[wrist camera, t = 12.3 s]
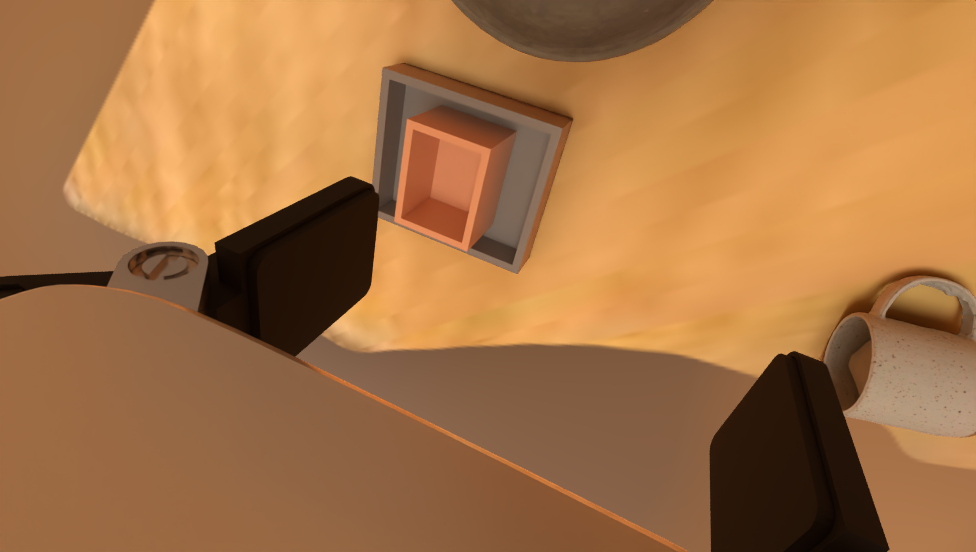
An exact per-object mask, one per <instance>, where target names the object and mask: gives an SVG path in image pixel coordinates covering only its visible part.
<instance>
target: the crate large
mask: <svg viewBox="0 0 976 552" xmlns="http://www.w3.org/2000/svg"><path fill="white" fill-rule="evenodd" d="M441 105H443V106H446V107H449V108H452V109H454V110H457V111H460V112H463V113H466V114H469V115H472V116H474V117H477V118H480V119H483V120H486V121H489V122H492V123H494V124H497V125H500V126H503V127H506V128H509V129H512V130H514V131H517V133H516V137H515V140H514V144H513V148H512V152H511V156H510V160H509V163H508V167H507V171H506V175H505V179H504V183H503V187H502V190H501V194H500V198H499V202H498V206H497V210H496V213H495V217H494V221H493V225H492V226H491V227H490V228H489V229H488V230H487V231H486V232H485V233H484V234H483V235H482V236H481V237H480V239H479V240H478V241H477V242H476V243H475V244H474V245H473V246H472V247H471V248H470V249H469V250H468V251H467V252H466V251H464V250H462V249H459V248H457V247H454V246H452V245H449V244H447V243H445V242H442V241H440V240H437V239H435V238H432V237H430V236H427V235H425V234H423V233H420V232H418V231H415V230H413V229H410V228H408V227H406V226H403V225H401V224H398V223H396V222H394V219H395V211H396V203H397V195H398V187H399V179H400V171H401V163H402V155H403V147H404V139H405V132H406V124H407V119H408V118H411V117H413V116H416V115H418V114H421V113H423V112H426V111H428V110H431V109H434V108H436V107H439V106H441ZM572 121H573V119H572V118H569V117H565V116H562V115H559V114H556V113H553V112H550V111H547V110H544V109H541V108H538V107H535V106H532V105H529V104H526V103H523V102H520V101H517V100H514V99H511V98H508V97H505V96H502V95H499V94H496V93H493V92H490V91H487V90H484V89H481V88H478V87H475V86H472V85H469V84H466V83H463V82H460V81H457V80H454V79H451V78H448V77H445V76H442V75H439V74H436V73H433V72H430V71H427V70H424V69H421V68H418V67H415V66H412V65H409V64H406V63H402V64H397V65H393V66H388V67H383V69H382V81H381V92H380V103H379V114H378V126H377V137H376V148H375V159H374V171H373V182H372V185H373V186H374V188H375V192H376V193H378V194H379V211H378V218H381V219H383V220H386V221H388V222H391V223H393V224H396V225H398V226H400V227H403V228H405V229H408V230H410V231H413V232H415V233H418V234H420V235H423V236H425V237H427V238H430V239H432V240H435V241H437V242H440V243H442V244H445V245H447V246H449V247H452V248H454V249H457V250H459V251H462V252H464V253H467V254H469V255H472V256H474V257H476V258H479V259H481V260H484V261H486V262H489V263H491V264H494V265H496V266H498V267H501V268H503V269H506V270H508V271H511V272H513V273H516V274H518V273H519V271H520V270H521V268H522V267H523V266H524V264H525V263H526V261H527V260H528V258H529V256H530V253H531V250H532V247H533V243H534V240H535V237H536V234H537V231H538V228H539V225H540V221H541V218H542V215H543V212H544V209H545V206H546V203H547V199H548V196H549V193H550V190H551V187H552V184H553V181H554V177H555V174H556V171H557V168H558V165H559V162H560V159H561V156H562V152H563V149H564V146H565V143H566V140H567V137H568V134H569V130H570V127H571V124H572Z"/></svg>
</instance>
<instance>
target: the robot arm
mask: <svg viewBox="0 0 976 552" xmlns="http://www.w3.org/2000/svg"><path fill="white" fill-rule="evenodd" d="M378 211H379V194H378V193H376V192H375V188H374V186H373V185H372V184H370V183H367V182H365V181H362V180H359V179H357V178H354V177H351V176H350V177H347V178H345V179H343V180H341V181H339V182H336V183H334V184H332V185H330V186H328V187H326V188H324V189H322V190H320V191H318V192H316V193H314V194H312V195H310V196H308V197H306V198H304V199H302V200H300V201H298V202H296V203H294V204H292V205H290V206H288V207H286V208H284V209H282V210H280V211H278V212H276V213H274V214H272V215H270V216H268V217H266V218H264V219H262V220H259V221H257V222H255V223H253V224H251V225H249V226H247V227H245V228H243V229H241V230H239V231H237V232H235V233H233V234H231V235H229V236H227V237H225V238H223V239H221V240H219V241H217V242H215V250H216V252H215V253H213V254H211V255H209V256H207V254H206V253H205V252H204V251H203V250H202V249H200V248H198V247H197V246H195V245H191V244H187V243H182V242H157V243H152V244H147V245H144V246H141V247H138V248H136V249H133V250H131V251H130V252H128V253H127V254H125V255H124V256H123V257H122V258H121V259H120V261H119V262H118V264H117V266H116V268H115V270H114V271H108V272H87V273H65V274H43V275H22V276H5V277H0V552H689V551H687V550H685V549H683V548H681V547H679V546H677V545H675V544H674V543H672V542H670V541H668V540H666V539H664V538H662V537H660V536H658V535H656V534H654V533H652V532H650V531H648V530H646V529H644V528H642V527H639V526H638V525H636V524H634V523H632V522H630V521H628V520H626V519H624V518H622V517H620V516H618V515H616V514H614V513H612V512H610V511H607V510H606V509H604V508H602V507H600V506H598V505H596V504H594V503H592V502H590V501H588V500H585V499H584V498H582V497H580V496H578V495H576V494H574V493H572V492H570V491H568V490H565V489H564V488H561V487H560V486H558V485H556V484H553V483H552V482H550V481H547V480H545V479H543V478H542V477H540V476H538V475H536V474H533V473H532V472H530V471H527V470H525V469H523V468H521V467H519V466H517V465H515V464H513V463H511V462H509V461H507V460H505V459H503V458H501V457H499V456H497V455H495V454H493V453H491V452H489V451H486V450H485V449H483V448H481V447H479V446H477V445H475V444H473V443H470V442H469V441H467V440H464V439H463V438H461V437H458V436H456V435H454V434H452V433H450V432H448V431H446V430H444V429H442V428H440V427H438V426H436V425H434V424H432V423H430V422H428V421H426V420H424V419H422V418H420V417H418V416H416V415H414V414H412V413H410V412H408V411H406V410H403V409H401V408H399V407H397V406H395V405H393V404H391V403H389V402H387V401H385V400H383V399H381V398H379V397H377V396H375V395H373V394H371V393H368V392H367V391H364V390H362V389H360V388H358V387H356V386H354V385H352V384H350V383H348V382H346V381H344V380H342V379H340V378H338V377H335V376H333V375H331V374H329V373H327V372H325V371H323V370H321V369H319V368H317V367H315V366H313V365H311V364H309V363H307V362H305V361H302V360H301V359H298V358H296V357H295V356H296V355H297V354H299V353H300V352H301V351H302V350H303V349H304V348H306V347H307V346H308V345H309V344H310V343H311V342H313V341H314V340H315V339H316V338H317V337H318V336H319V335H321V334H322V333H323V332H324V331H325V330H326V329H327V328H329V327H330V326H331V325H332V324H333V323H334V322H335V321H337V320H338V319H339V318H340V317H341V316H342V315H344V314H345V313H346V312H347V311H348V310H349V309H350V308H352V307H353V306H354V305H355V304H356V303H357V302H358V301H360V300H361V299H362V298H363V297H364V296H365V295H366V294H367V292H368V291H369V289H370V286H371V281H372V271H373V261H374V251H375V241H376V231H377V221H378ZM710 511H711V552H887V551H888V550H889V546H888V543H887V541H886V537H885V534H884V532H883V529H882V526H881V523H880V520H879V517H878V514H877V511H876V508H875V505H874V502H873V499H872V496H871V493H870V490H869V488H868V485H867V482H866V479H865V476H864V473H863V470H862V467H861V464H860V461H859V458H858V455H857V452H856V449H855V446H854V443H853V440H852V437H851V434H850V432H849V429H848V426H847V423H846V420H845V417H844V414H843V411H842V408H841V405H840V402H839V399H838V396H837V393H836V390H835V387H834V384H833V382H832V379H831V376H830V373H829V370H828V367H827V365H826V364H825V363H823V362H821V361H819V360H816V359H813V358H811V357H808V356H806V355H803V354H801V353H798V352H796V351H793V352H790V353H789V354H788V355H784V354H778V355H777V356H776V357H775V358H774V359H773V360H772V362H771V363H770V364H769V365H768V367H767V368H766V369H765V371H764V372H763V373H762V375H761V376H760V377H759V378H758V380H757V381H756V382H755V384H754V385H753V386H752V387H751V389H750V390H749V391H748V393H747V394H746V395H745V397H744V398H743V399H742V401H741V402H740V403H739V404H738V406H737V407H736V408H735V409H734V411H733V412H732V413H731V415H730V416H729V417H728V418H727V420H726V421H725V422H724V424H723V425H722V426H721V428H720V429H719V430H718V432H717V433H716V434H715V436H714V438H713V440H712V442H711V446H710Z"/></svg>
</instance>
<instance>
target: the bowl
mask: <svg viewBox="0 0 976 552" xmlns="http://www.w3.org/2000/svg"><path fill="white" fill-rule="evenodd" d="M452 1H453V2H454V4H455V5H456V6H457V7H458V8H459V9H460V10H461V11H462V12H463V13H464V14H465V15H466V16H467V17H468V18H469V19H470V20H472V21H473V22H474V23H475V24H476V25H477V26H479V27H480V28H481V29H482V30H484V31H485V32H487V33H488V34H489V35H491V36H492V37H494V38H495V39H497V40H498V41H500V42H502V43H504V44H506V45H508V46H509V47H511V48H513V49H516V50H518V51H520V52H523V53H526V54H529V55H532V56H535V57H538V58H543V59H549V60H554V61H565V62H592V61H600V60H605V59H609V58H614V57H618V56H622V55H626V54H628V53H631V52H634V51H636V50H639V49H641V48H644V47H646V46H649V45H651V44H653V43H655V42H657V41H659V40H661V39H663V38H665V37H666V36H668V35H669V34H671V33H672V32H674V31H675V30H677V29H678V28H680V27H681V26H683V25H684V24H685V23H687V22H688V21H690V20H691V19H692V18H693V17H695V16H696V15H697V14H699V13H700V12H701V11H702V10H703V9H705V8H706V7H707V6H708V5H709V4H710V3H711V2H712V1H713V0H452Z"/></svg>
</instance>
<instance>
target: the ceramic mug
mask: <svg viewBox="0 0 976 552" xmlns="http://www.w3.org/2000/svg"><path fill="white" fill-rule="evenodd" d="M919 284H922V285H926V286H930V287H933V288H936V289H939V290H941V291H943V292H944V293H945V294H946V295H950V296H956V297H957V298H958V300H959V302H960V304H961V306H962V315H963V318H962V324H961V327H960V331H959V333H958V334H957V335H956V334H952V333H948V332H946V331H940V330H936V329H932V328H925V327H921V326H917V325H914V324H910V323H907V322H903V321H898V320H894V319H891V318H886V317H885V315H886V311H887V310H888V308H889V307H890V306H891V305H892V303H893V302H894V301H895V300H896V298H897V297H898V296H899V295H900V294H901V293H903V292H904V291H906V290H908V289H910V288H912V287H915V286H917V285H919ZM823 363H825V364H826V365H827V367H828V370H829V373H830V376H831V379H832V382H833V384H834V387H835V390H836V393H837V396H838V399H839V402H840V405H841V408H842V411H843V414H844V417H850V418H855V419H861V420H865V421H870V422H875V423H879V424H884V425H888V426H894V427H899V428H904V429H910V430H914V431H917V432H922V433H926V434H931V435H936V436H946V437H970V436H974V435H976V298H975V297H974V295H973V294H972V293H971V292H970V291H969V290H968V289H966V288H965V287H964V286H962V285H960V284H958V283H955V282H953V281H951V280H948V279H944V278H940V277H932V276H922V275H919V276H910V277H906V278H903V279H901V280H899V281H897V282H894V283H893V284H891V285H890V286H888V287H887V288H886V289H885V290H884V291H883V292H882V294H881V295H880V296H879V298H878V299H877V300H876V302H875V303H874V305H873V307H872V309H871V311H870V312H869V313H862V312H856V313H852V314H850V315H848V316H847V317H845V318H844V319H843V320H842V321H841V322H840V323H839V325H838V326H837V328H836V329H835V331H834V332H833V334H832V336H831V338H830V340H829V343H828V345H827V349H826V351H825V357H824V361H823Z"/></svg>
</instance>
